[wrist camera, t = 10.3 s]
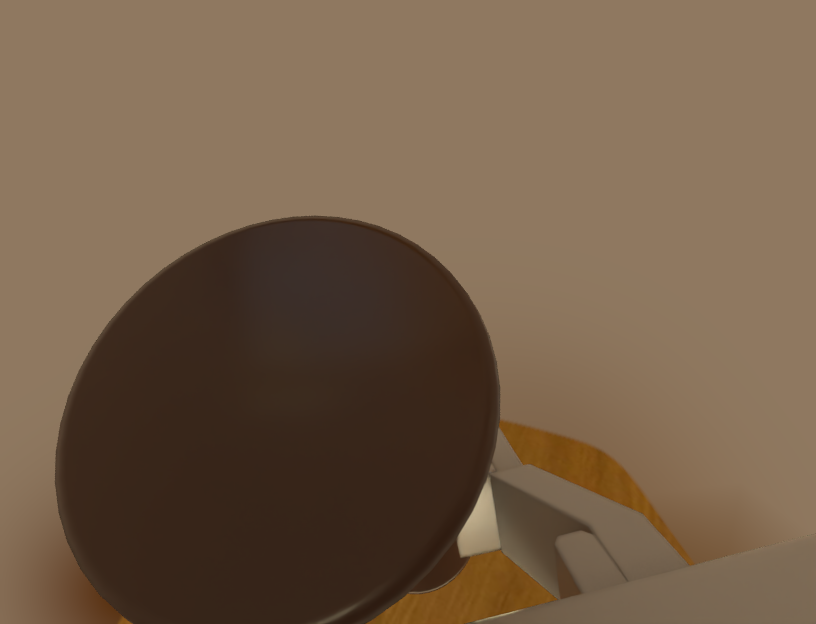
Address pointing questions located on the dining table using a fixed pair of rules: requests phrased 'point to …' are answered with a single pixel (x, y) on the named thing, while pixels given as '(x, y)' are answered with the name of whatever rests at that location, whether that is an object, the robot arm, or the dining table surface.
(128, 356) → the upright rod on disc
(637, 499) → the dining table surface
